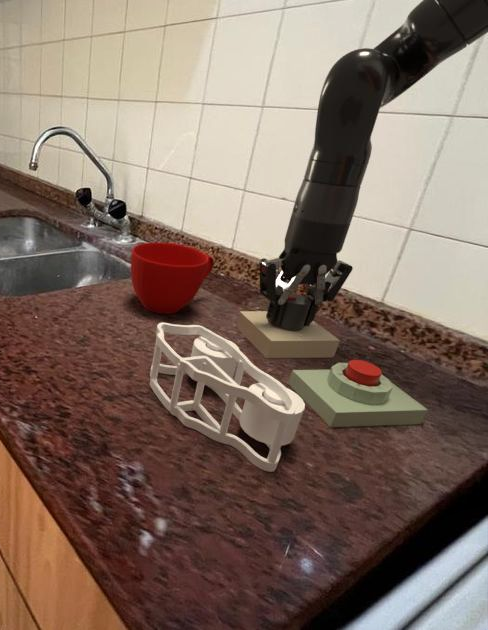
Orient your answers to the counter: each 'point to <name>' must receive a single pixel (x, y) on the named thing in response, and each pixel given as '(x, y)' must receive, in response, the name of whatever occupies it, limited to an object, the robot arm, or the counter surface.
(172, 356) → the skeletal toy car
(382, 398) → the power switch
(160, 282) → the ceramic cup
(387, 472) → the counter surface
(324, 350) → the control panel
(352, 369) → the power button
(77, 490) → the counter surface
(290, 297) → the dial
